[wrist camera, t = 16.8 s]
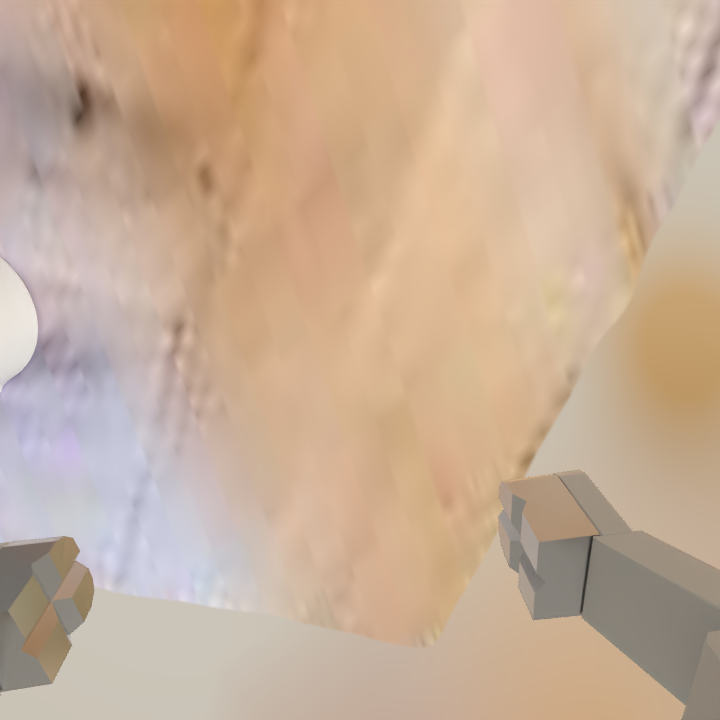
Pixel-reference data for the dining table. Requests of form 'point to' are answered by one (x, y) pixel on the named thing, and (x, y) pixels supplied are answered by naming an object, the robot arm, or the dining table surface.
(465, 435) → the dining table surface
